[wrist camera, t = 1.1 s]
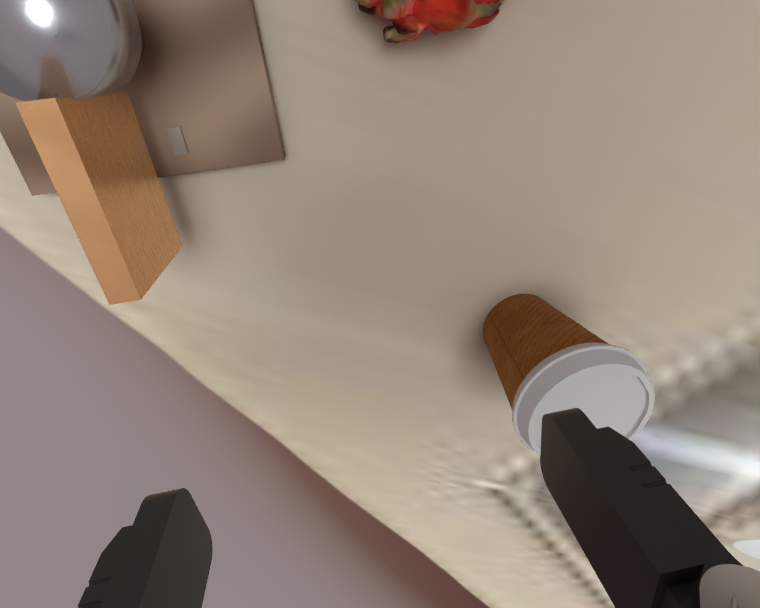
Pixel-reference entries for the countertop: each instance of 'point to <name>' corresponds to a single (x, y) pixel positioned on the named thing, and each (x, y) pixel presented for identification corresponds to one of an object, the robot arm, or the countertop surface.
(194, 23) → the post block
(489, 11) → the dragon fruit
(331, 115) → the countertop surface
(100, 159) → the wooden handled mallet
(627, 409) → the disposable coffee cup
